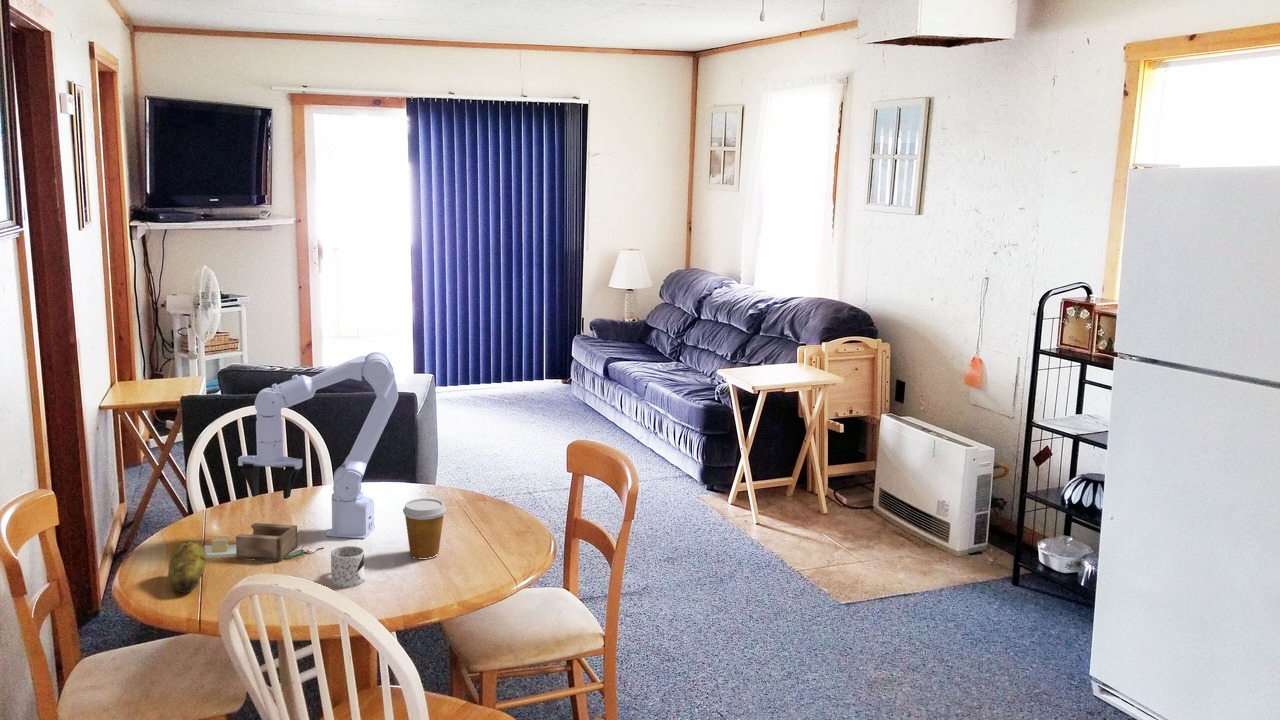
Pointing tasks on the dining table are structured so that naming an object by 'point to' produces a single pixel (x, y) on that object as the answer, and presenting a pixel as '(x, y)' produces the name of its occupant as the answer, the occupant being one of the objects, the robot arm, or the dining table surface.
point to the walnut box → (267, 542)
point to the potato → (186, 566)
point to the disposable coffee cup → (424, 526)
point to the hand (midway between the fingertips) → (271, 496)
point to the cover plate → (221, 554)
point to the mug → (347, 566)
